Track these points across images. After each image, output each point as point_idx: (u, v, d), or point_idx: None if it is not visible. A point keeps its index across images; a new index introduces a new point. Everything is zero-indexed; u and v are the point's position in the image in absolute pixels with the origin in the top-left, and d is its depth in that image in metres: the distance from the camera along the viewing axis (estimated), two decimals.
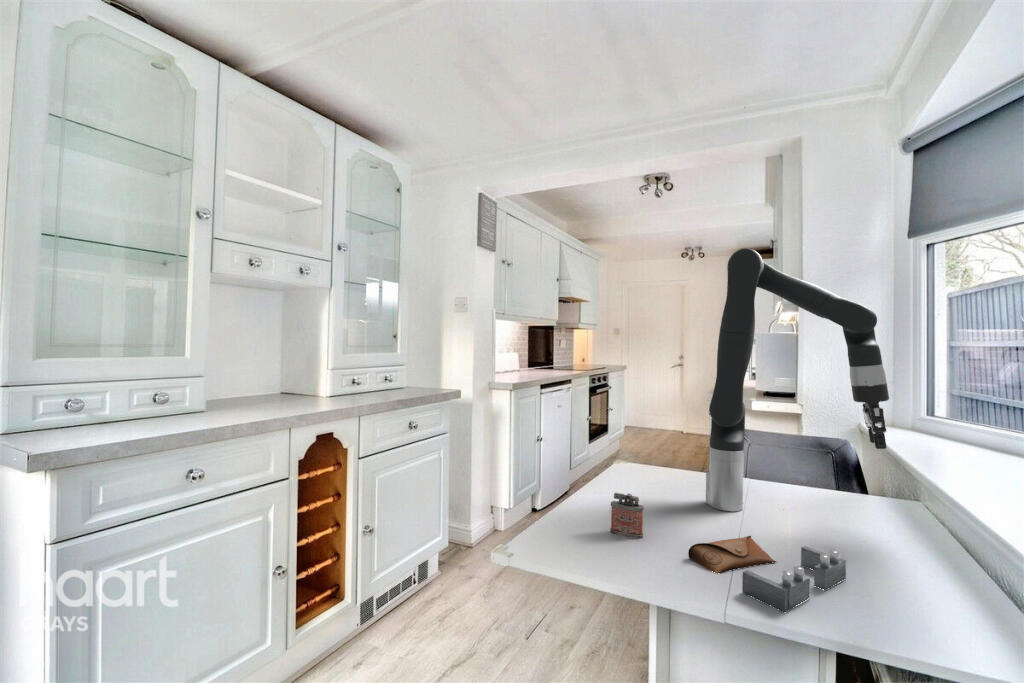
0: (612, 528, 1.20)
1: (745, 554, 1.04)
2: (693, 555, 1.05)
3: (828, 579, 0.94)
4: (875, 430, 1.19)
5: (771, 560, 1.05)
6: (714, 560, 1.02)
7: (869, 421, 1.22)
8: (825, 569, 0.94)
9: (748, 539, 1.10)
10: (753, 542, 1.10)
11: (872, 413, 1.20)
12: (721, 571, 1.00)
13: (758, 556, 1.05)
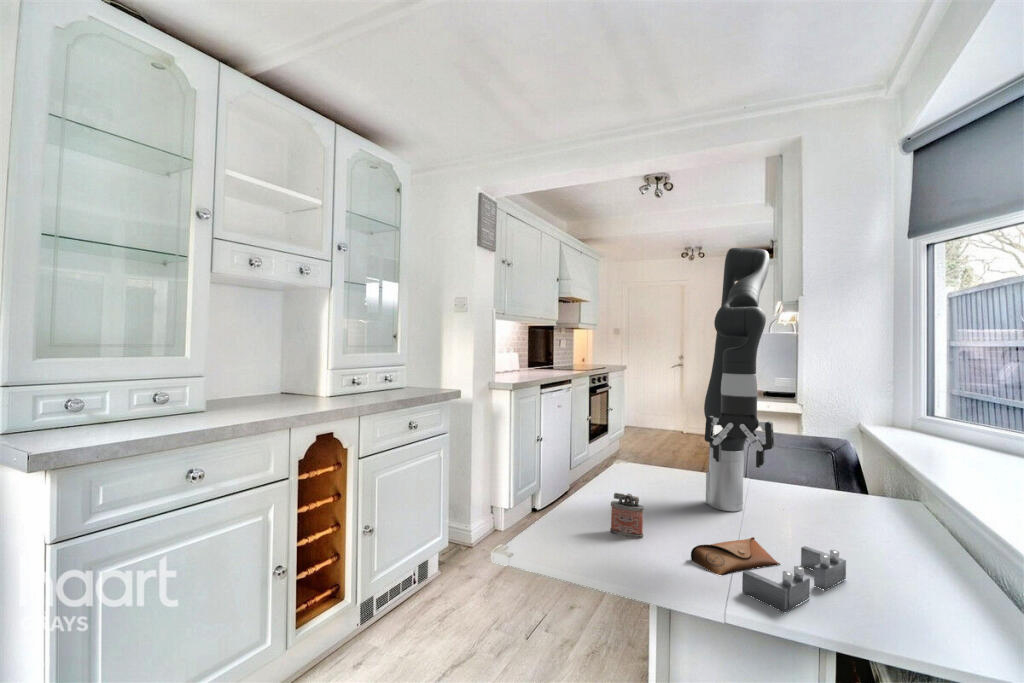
0: (612, 528, 1.20)
1: (748, 556, 1.03)
2: (696, 557, 1.05)
3: (828, 579, 0.94)
4: None
5: (775, 562, 1.04)
6: (717, 562, 1.02)
7: None
8: (825, 569, 0.94)
9: (751, 541, 1.09)
10: (757, 544, 1.09)
11: None
12: (723, 573, 0.99)
13: (761, 558, 1.04)
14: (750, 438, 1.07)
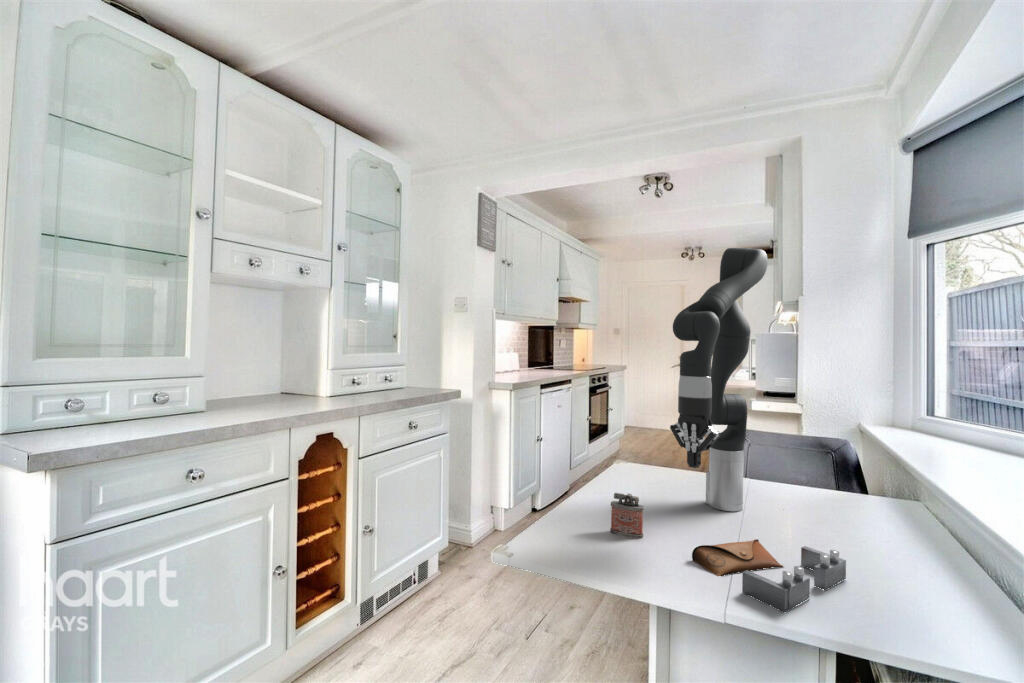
0: (612, 528, 1.20)
1: (750, 557, 1.02)
2: (697, 557, 1.05)
3: (828, 579, 0.94)
4: None
5: (778, 564, 1.03)
6: (717, 563, 1.01)
7: None
8: (825, 569, 0.94)
9: (755, 543, 1.08)
10: (760, 546, 1.08)
11: None
12: (724, 574, 0.99)
13: (764, 560, 1.03)
14: (692, 438, 1.14)
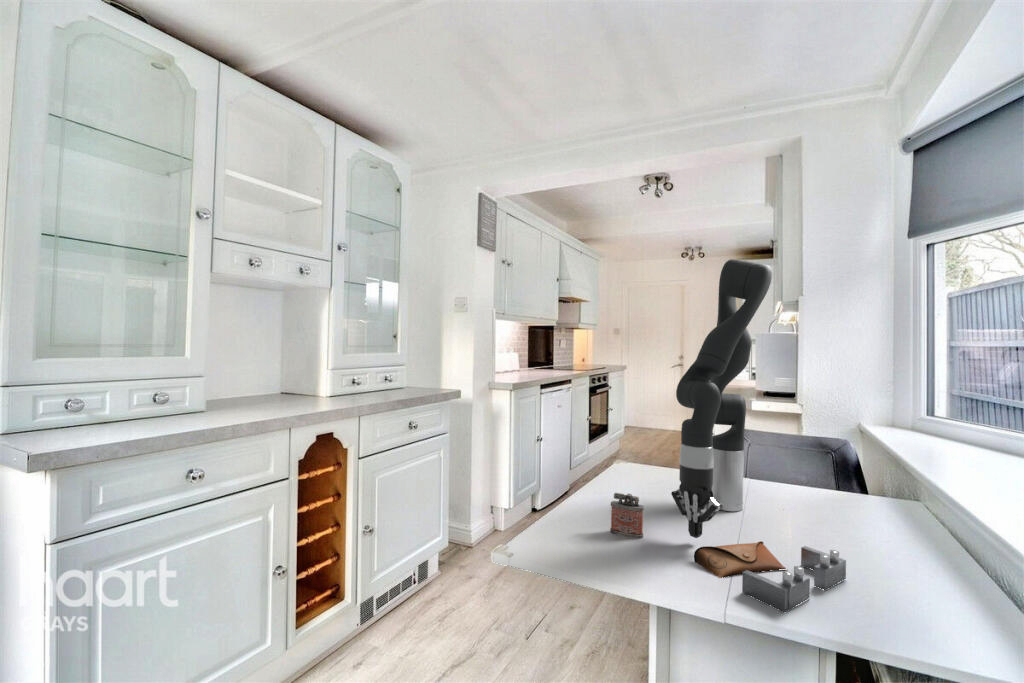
0: (612, 528, 1.20)
1: (753, 560, 1.01)
2: (698, 558, 1.04)
3: (828, 579, 0.94)
4: None
5: (781, 567, 1.02)
6: (719, 564, 1.01)
7: None
8: (825, 569, 0.94)
9: (759, 545, 1.07)
10: (764, 548, 1.07)
11: None
12: (725, 575, 0.98)
13: (767, 562, 1.02)
14: (694, 508, 1.13)
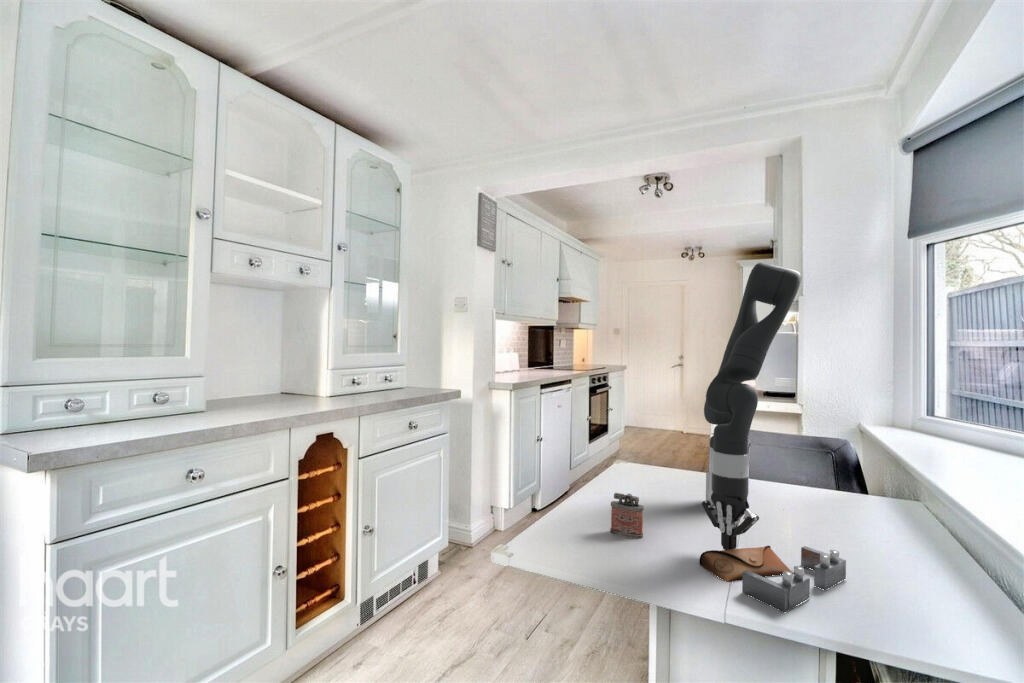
0: (612, 528, 1.20)
1: (760, 564, 1.00)
2: (704, 562, 1.02)
3: (828, 579, 0.94)
4: None
5: None
6: (725, 569, 0.99)
7: None
8: (825, 569, 0.94)
9: (766, 549, 1.05)
10: (772, 552, 1.05)
11: None
12: (731, 580, 0.97)
13: (775, 567, 1.00)
14: (727, 520, 1.06)
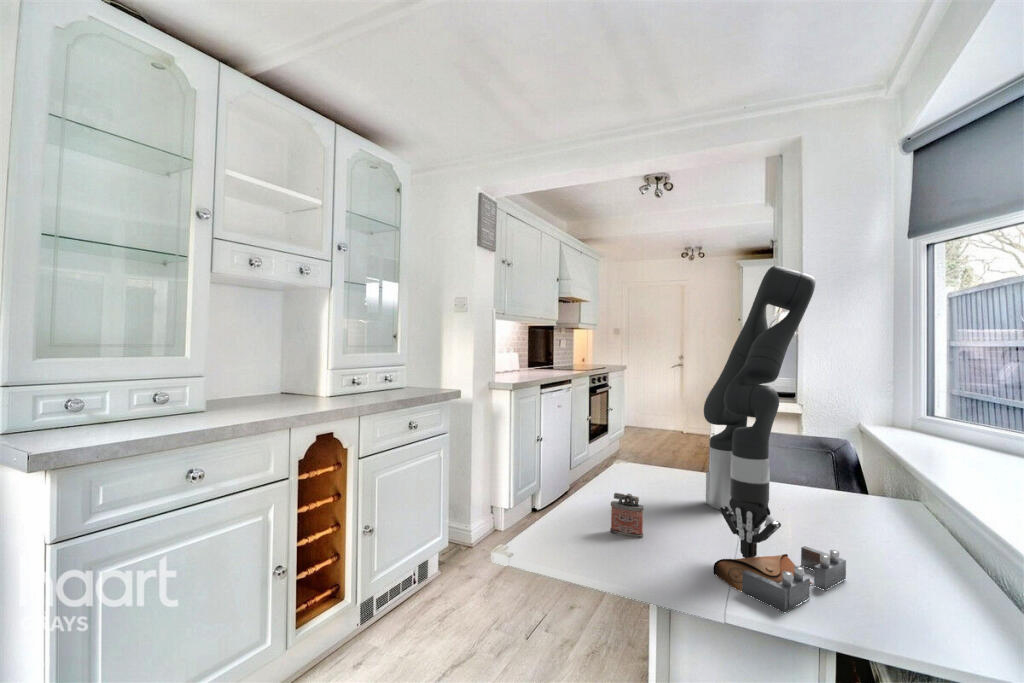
0: (612, 528, 1.20)
1: (777, 574, 0.95)
2: (718, 571, 0.98)
3: (828, 579, 0.94)
4: None
5: None
6: (740, 578, 0.95)
7: None
8: (825, 569, 0.94)
9: (784, 558, 1.01)
10: (789, 561, 1.00)
11: None
12: None
13: None
14: (747, 527, 1.02)
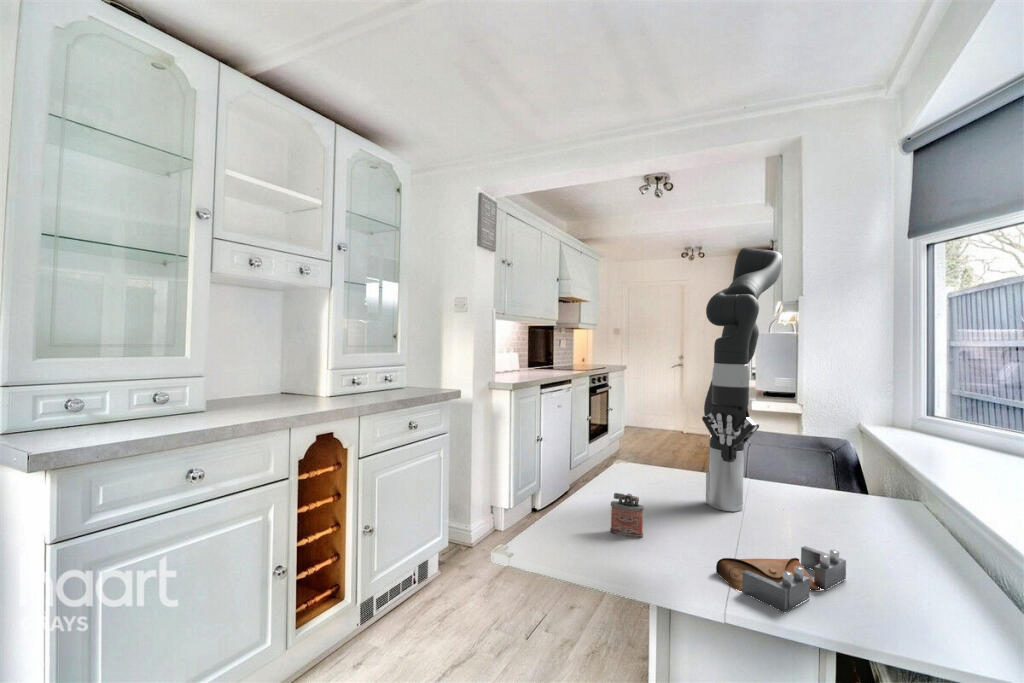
0: (612, 528, 1.20)
1: (780, 576, 0.94)
2: (720, 570, 0.99)
3: (828, 579, 0.94)
4: None
5: (814, 587, 0.94)
6: (740, 578, 0.95)
7: None
8: (825, 569, 0.94)
9: (793, 561, 0.99)
10: (798, 565, 0.98)
11: None
12: None
13: None
14: (727, 430, 1.06)
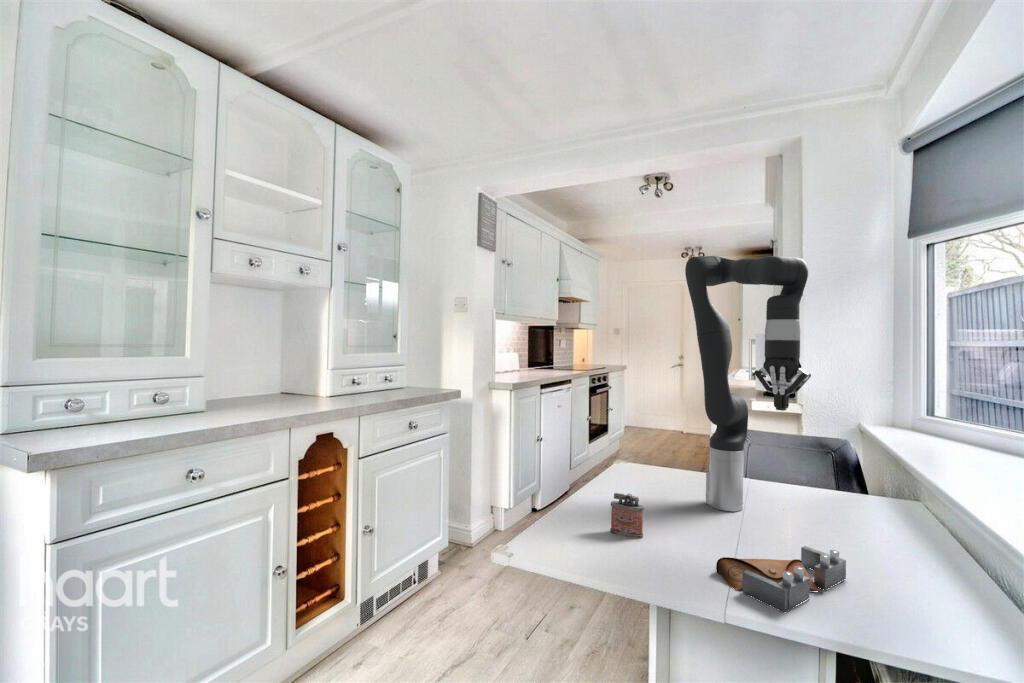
0: (612, 528, 1.20)
1: (779, 577, 0.94)
2: (720, 569, 0.99)
3: (828, 579, 0.94)
4: None
5: (815, 589, 0.93)
6: (738, 577, 0.95)
7: None
8: (825, 569, 0.94)
9: (795, 563, 0.99)
10: None
11: None
12: None
13: None
14: (781, 381, 1.15)
